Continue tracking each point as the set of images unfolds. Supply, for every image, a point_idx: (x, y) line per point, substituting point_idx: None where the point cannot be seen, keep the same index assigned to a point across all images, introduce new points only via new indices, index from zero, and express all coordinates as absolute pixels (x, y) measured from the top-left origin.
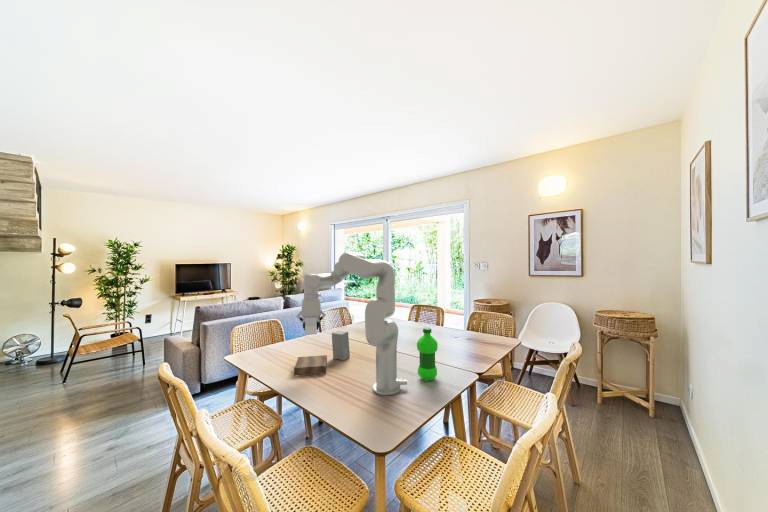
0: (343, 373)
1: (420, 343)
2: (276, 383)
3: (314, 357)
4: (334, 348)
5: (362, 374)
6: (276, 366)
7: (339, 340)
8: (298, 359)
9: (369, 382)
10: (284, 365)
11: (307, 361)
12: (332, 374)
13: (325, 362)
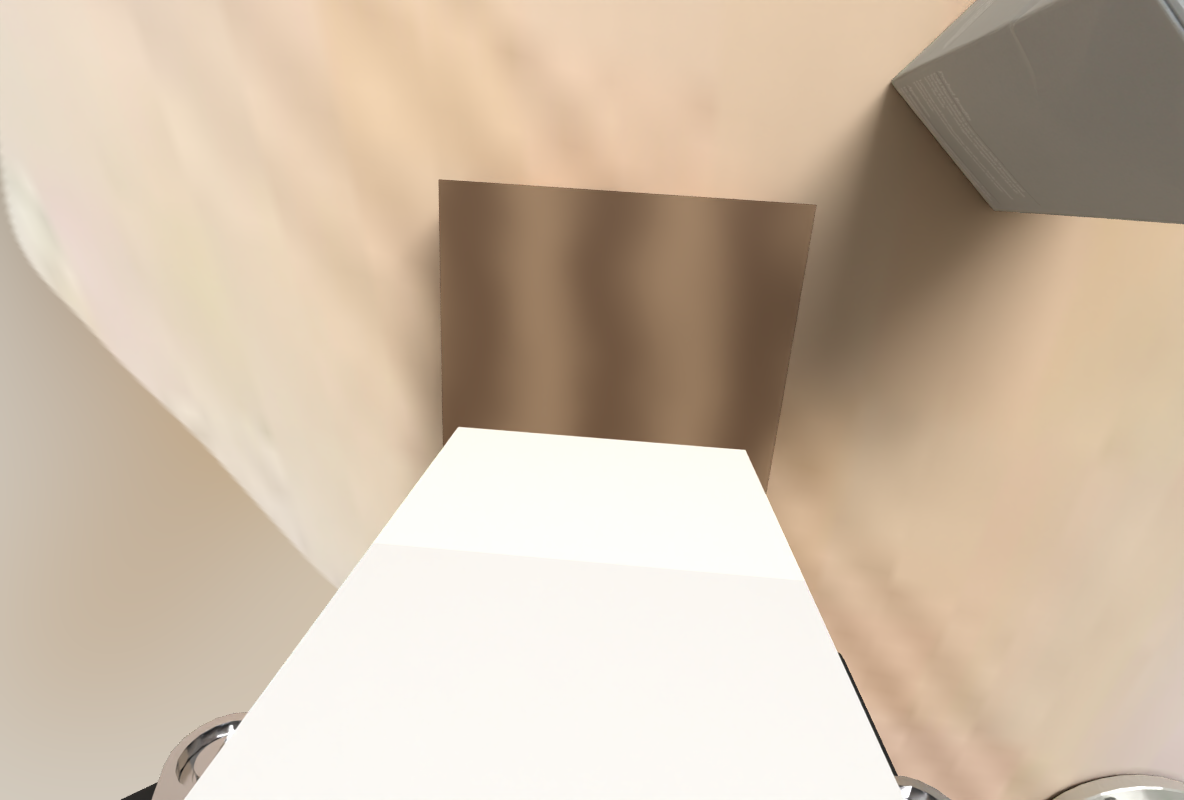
0: (898, 540)
1: None
2: (348, 574)
3: (647, 253)
4: (977, 95)
5: (1054, 601)
6: (234, 191)
7: (1157, 186)
8: (453, 273)
9: (1046, 735)
10: (314, 182)
11: (565, 369)
12: (797, 534)
13: (764, 451)
